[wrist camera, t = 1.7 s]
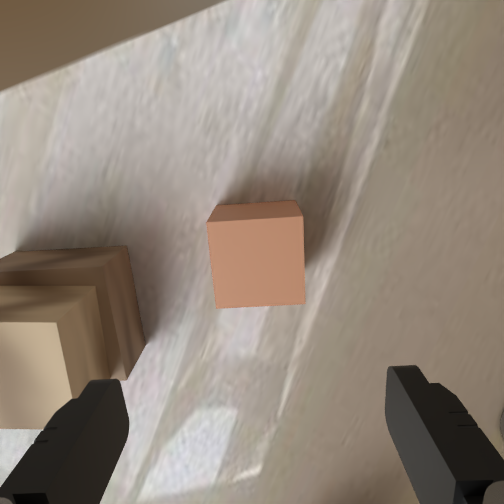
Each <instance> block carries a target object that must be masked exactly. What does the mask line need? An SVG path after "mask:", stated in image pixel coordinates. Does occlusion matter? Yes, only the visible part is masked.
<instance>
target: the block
mask: <svg viewBox="0 0 504 504" xmlns="http://www.w3.org/2000/svg"><path fill="white" fill-rule="evenodd" d="M206 224H207V233H208V242H209V250H210V259H211V268H212V276H213V285H214V294H215V302H216V309H219V308H238V307H257V306H276V305H295V304H305V268H304V227H303V215H302V213H301V211H300V209H299V207H298V205H297V203H296V201H295V200H290V201H275V202H259V203H244V204H229V205H216V207H215V209H214V210H213V212H212V214H211V215H210V217H209V219H208V220H207V222H206Z"/></svg>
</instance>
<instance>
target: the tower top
mask: <svg viewBox="0 0 504 504" xmlns="http://www.w3.org/2000/svg"><path fill="white" fill-rule="evenodd" d="M98 379H110V372H109V366H108V360H107V354H106V348H105V342H104V336H103V330H102V324H101V318H100V312H99V305H98V299H97V293H96V287H95V286H0V429H44V427H45V426H46V424H47V423H48V421H49V420H50V419H51V417H52V416H53V415H54V413H55V412H56V411H57V410H59V409H60V408H61V407H62V406H63V405H65V404H66V403H67V402H68V401H70V400H71V399H75V398H78V397H79V395H80V394H81V392H82V391H83V390H84V388H85V387H86V385H87V384H88V382H89V381H91V380H98Z"/></svg>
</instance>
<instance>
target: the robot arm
mask: <svg viewBox="0 0 504 504" xmlns="http://www.w3.org/2000/svg"><path fill="white" fill-rule="evenodd" d="M385 416H386V422H387V426H388V430H389V432H390V435H391V437H392V440H393V442H394V444H395V447H396V449H397V451H398V454H399V456H400V458H401V461H402V463H403V465H404V468H405V470H406V472H407V475H408V477H409V479H410V482H411V484H412V486H413V489H414V491H415V493H416V496H417V498H418V500H419V503H420V504H504V460H503V458H502V457H501V456H500V454H499V453H498V451H497V450H496V449H495V447H494V446H493V445H492V443H491V442H490V441H489V439H488V438H487V437H486V435H485V434H484V433H483V431H482V430H481V429H480V428H478V426H477V423H476V422H475V420H474V419H473V418H472V416H471V415H470V414H468V411H467V410H466V408H465V407H464V406H463V404H462V403H461V402H460V400H459V399H458V397H457V396H456V395H455V394H453V393H452V392H451V391H449V390H448V389H446V388H445V387H444V386H442V385H441V384H440V383H429V382H428V381H427V379H426V378H425V376H424V375H423V373H422V372H421V370H420V369H419V368H418V367H417V366H416V365H408V366H390V367H388V370H387V381H386V398H385ZM500 430H501V434H502V437H503V439H504V411H503V414H502V417H501V422H500ZM128 433H129V417H128V413H127V409H126V404H125V400H124V396H123V392H122V387H121V384H120V381H119V380H118V379H98V380H91V381H89V382H88V384H87V385H86V387H85V388H84V390H83V391H82V392H81V394H80V395H79V397H78V398H75V399H71V400H70V401H68V402H67V403H66V404H65V405H63V406H62V407H61V408H60V409H59V410H57V411H56V412H55V413H54V415H53V416H52V417H51V419H50V420H49V421H48V423H47V424H46V426H45V427H44V430H43V431H41V432H40V434H39V435H38V436H37V438H36V439H35V441H34V444H32V445H31V446H30V447H29V449H28V450H27V452H26V453H25V454H24V456H23V457H22V458H21V460H20V461H19V463H18V464H17V465H16V467H15V468H14V469H13V471H12V472H11V473H10V475H9V476H8V478H7V479H6V480H5V482H4V483H3V484H2V486H1V487H0V504H99V503H100V501H101V499H102V497H103V494H104V492H105V490H106V487H107V485H108V483H109V480H110V478H111V476H112V473H113V471H114V469H115V466H116V464H117V462H118V460H119V457H120V455H121V453H122V450H123V448H124V446H125V443H126V441H127V438H128Z"/></svg>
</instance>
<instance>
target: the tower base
mask: <svg viewBox="0 0 504 504" xmlns="http://www.w3.org/2000/svg"><path fill="white" fill-rule="evenodd" d="M0 286H95V287H96V293H97V299H98V305H99V312H100V318H101V324H102V330H103V336H104V342H105V348H106V354H107V360H108V366H109V372H110V379H118V380H119V381H122V380H127V379H128V377H129V375H130V373H131V371H132V370H133V368H134V366H135V364H136V362H137V360H138V359H139V357H140V355H141V353H142V351H143V349H144V347H145V346H146V345H145V339H144V334H143V329H142V323H141V318H140V313H139V307H138V302H137V297H136V291H135V286H134V281H133V275H132V270H131V265H130V259H129V254H128V249H127V246H111V247H93V248H74V249H56V250H38V251H20V252H13V253H11V254H9V255H7V256H5V257H3V258H1V259H0Z"/></svg>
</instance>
